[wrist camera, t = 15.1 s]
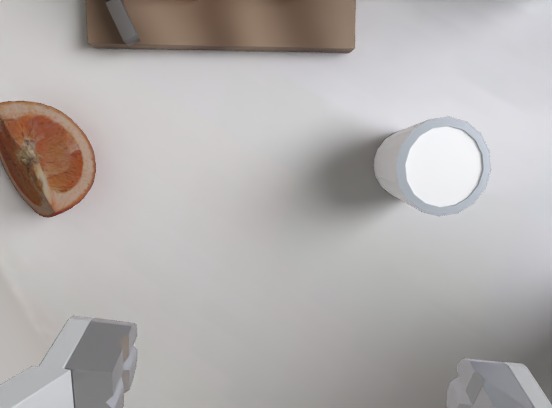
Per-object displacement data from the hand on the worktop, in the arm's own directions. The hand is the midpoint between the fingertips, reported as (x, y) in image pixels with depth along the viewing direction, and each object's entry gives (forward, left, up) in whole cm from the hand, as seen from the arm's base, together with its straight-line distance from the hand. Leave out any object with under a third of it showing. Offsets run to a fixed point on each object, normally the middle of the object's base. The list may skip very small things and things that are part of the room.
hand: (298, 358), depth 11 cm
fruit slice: (+15, -5, -26) cm, 31 cm away
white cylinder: (-13, -4, -26) cm, 29 cm away
